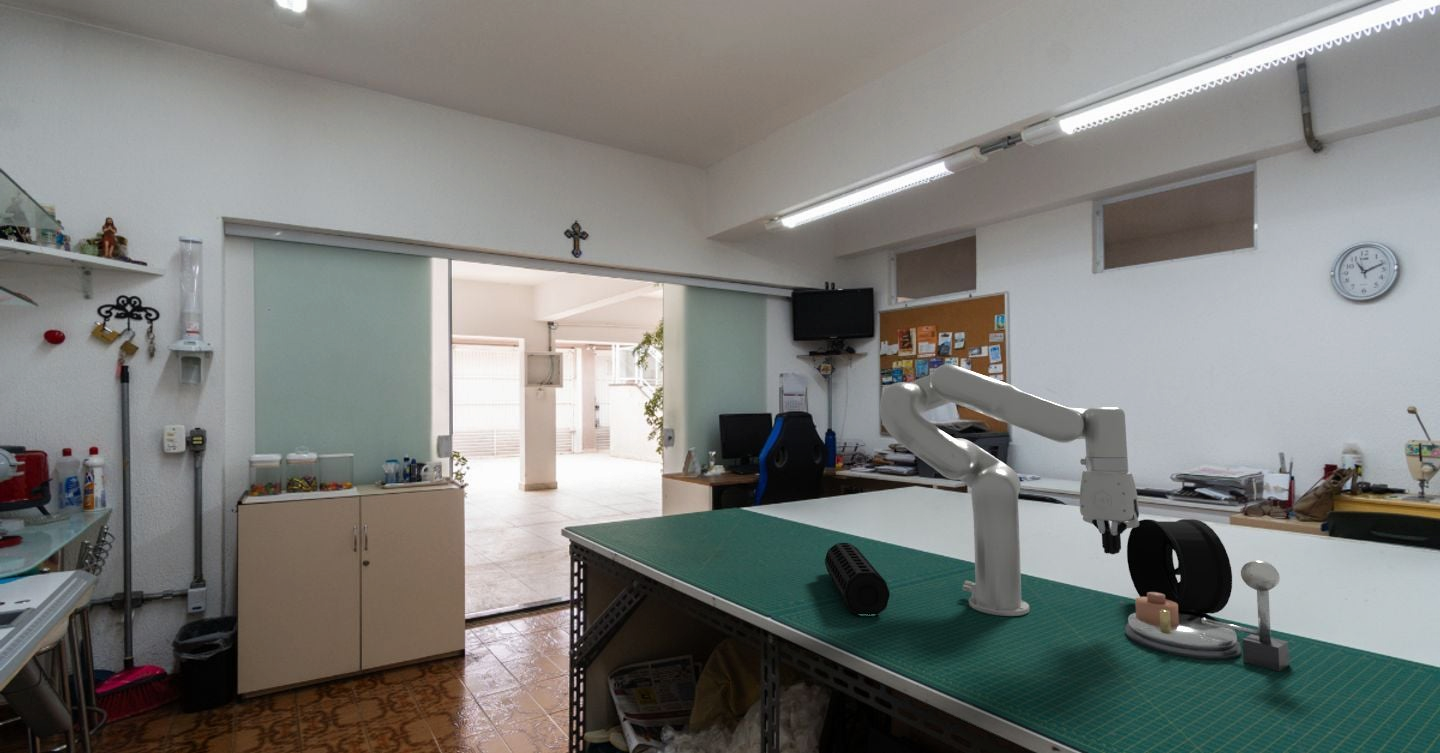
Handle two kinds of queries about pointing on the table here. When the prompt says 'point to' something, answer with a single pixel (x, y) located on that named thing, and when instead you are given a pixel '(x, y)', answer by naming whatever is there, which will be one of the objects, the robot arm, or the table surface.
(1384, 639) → the table surface
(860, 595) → the roller
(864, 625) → the table surface
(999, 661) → the table surface
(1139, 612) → the cover
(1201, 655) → the turntable base
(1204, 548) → the car wheel rim
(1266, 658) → the metal lever
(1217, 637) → the disc
